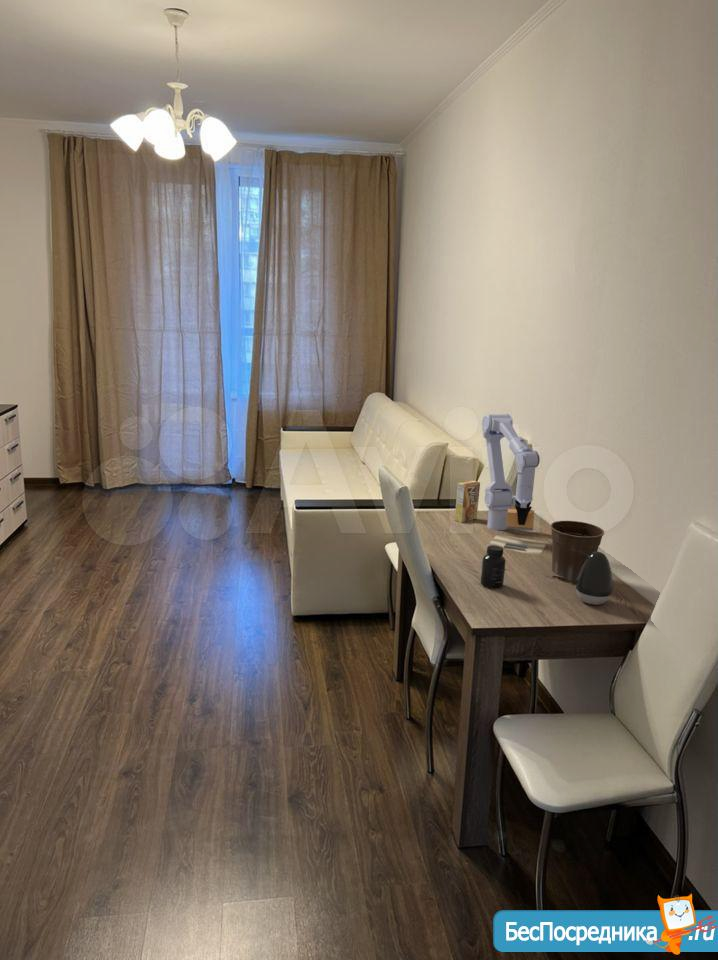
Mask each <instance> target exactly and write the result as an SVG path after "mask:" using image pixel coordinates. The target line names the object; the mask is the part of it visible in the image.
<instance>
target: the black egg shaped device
mask: <svg viewBox="0 0 718 960" xmlns="http://www.w3.org/2000/svg"><path fill="white" fill-rule="evenodd" d="M579 554H580V555H581V556H582V557H584V558H585V559H586V560H585V561H584V563H583V565H582V567H581V569H580V571H579V574H578V577H577V581H576V583H575V589H576V593H577V596H578V598H579V599H580V600H581V601H582V602H583V603H585V604H587V605H591V604H593V605H592V606H595V605H596V606H599V605H602V604H605V603H607V602H608V600H610V597H611V595H612V594H613V589H614V587H613V582H614V580H613V573H612V567H611V564H610V561H609V558H608V557H607V556H606V555H607V554H605V553H603V552H601V551H596V552H592V553H591V554H590V555H588V554H586V553H584V552H582V551H580V552H579Z"/></svg>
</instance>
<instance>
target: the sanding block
mask: <svg viewBox="0 0 718 960" xmlns="http://www.w3.org/2000/svg"><path fill="white" fill-rule="evenodd" d="M534 518H535V510H534V509H533V510H532V509H531V510H530V511H529V513H528V516H527V519H526V522H525V525H518V515H517V510H516V508H510V509H508V515H507V529H506V530H519V531H532V532H534V520H535V519H534Z"/></svg>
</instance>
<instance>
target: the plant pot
mask: <svg viewBox="0 0 718 960" xmlns="http://www.w3.org/2000/svg"><path fill="white" fill-rule="evenodd" d="M550 528H551V539H552V543H551V545H552V551H551V553H552V554H551V555H552V556H551V560H552V561H551V571H552V573H553V574H555V575H553V577H554V578H557V579H558V580H559V581H562V582H566V583H570V582H571V583H570V584H576V581H577V577H578V574H579V571H580V569H581V567H582V565H583V563H584V561H585V560H586V559H585V558H584V557H582V556H581V555H580V554H579V552H580V551H582V552H584V553H586V554H588V555H590V554H591V553H592V552H596V551H598V550H599V546H600V545H601V542H602V538H603V536H604V535H605V530H604V529H603V528H602V527H599V526H597V525H595V524H592V523H588V522H583V521H577V520H557V521H553V522H552V523H551V524H550ZM598 552H599V551H598Z"/></svg>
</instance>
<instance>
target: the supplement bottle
mask: <svg viewBox="0 0 718 960" xmlns="http://www.w3.org/2000/svg"><path fill="white" fill-rule="evenodd" d="M487 546H488V545H487ZM487 546H486V554H484V556H483V557H482V561H481V563H482V564H481V574H480V584H482V585H483V586H482V585H481V586H482V587H484V586H485V587H484V588H486V587H488V588H487V589H490V588H499V589H501V588H503V587H504V583H505V582H504V581H505V580H504V579H505V573H506V572H505V570H506V558H505V557H504V550H503V548H502V547H500V546H496V545H491V546H488V547H487ZM500 587H501V588H500Z"/></svg>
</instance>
